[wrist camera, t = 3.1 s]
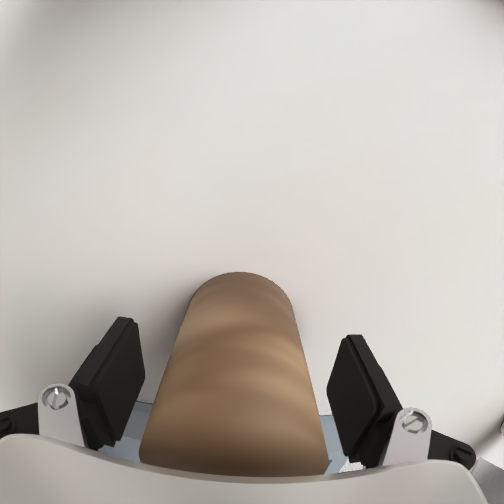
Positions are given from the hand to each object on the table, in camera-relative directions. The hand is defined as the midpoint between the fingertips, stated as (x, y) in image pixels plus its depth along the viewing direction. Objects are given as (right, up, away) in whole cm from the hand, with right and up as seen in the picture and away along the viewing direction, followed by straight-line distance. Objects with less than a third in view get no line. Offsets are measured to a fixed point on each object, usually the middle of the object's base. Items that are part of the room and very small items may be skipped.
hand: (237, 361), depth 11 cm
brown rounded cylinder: (0, +1, +3) cm, 3 cm away
